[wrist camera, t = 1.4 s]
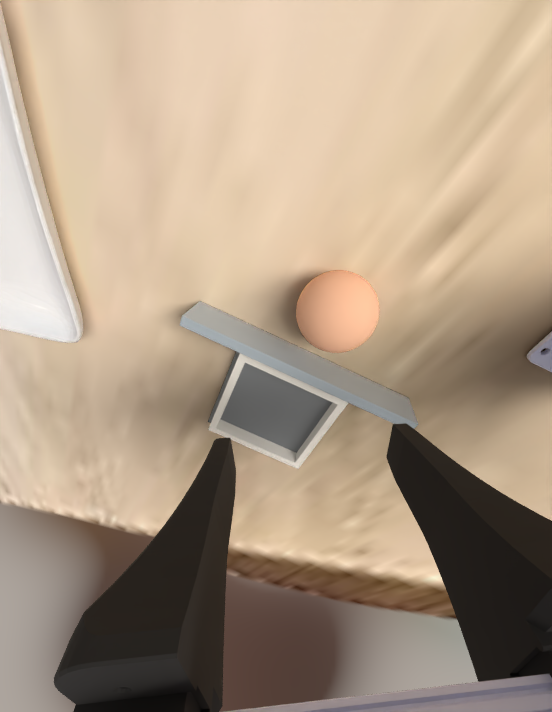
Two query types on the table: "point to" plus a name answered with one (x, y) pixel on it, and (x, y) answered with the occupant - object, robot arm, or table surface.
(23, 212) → the salad plate
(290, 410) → the white square tray
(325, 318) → the ball
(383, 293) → the table surface
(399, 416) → the low wall
